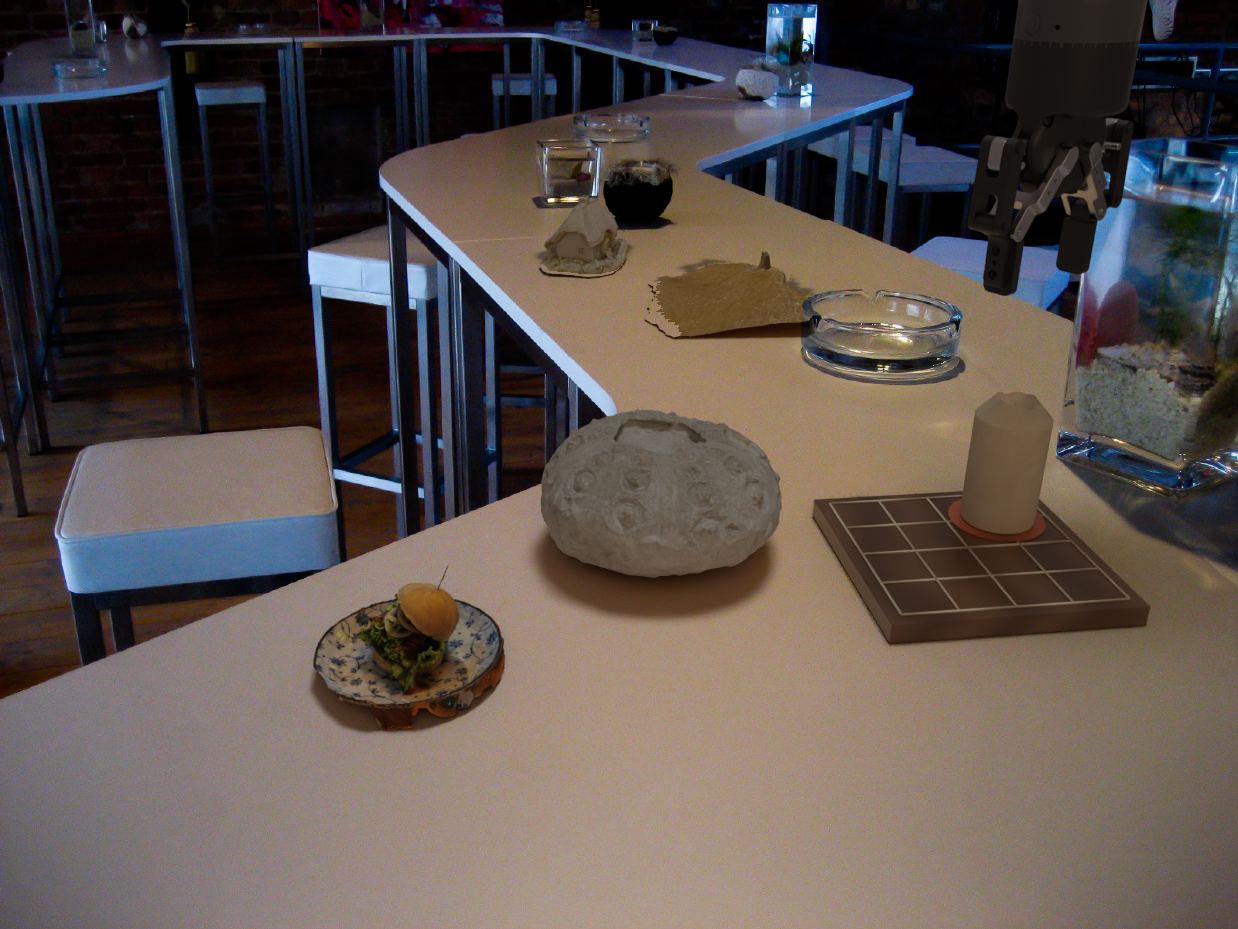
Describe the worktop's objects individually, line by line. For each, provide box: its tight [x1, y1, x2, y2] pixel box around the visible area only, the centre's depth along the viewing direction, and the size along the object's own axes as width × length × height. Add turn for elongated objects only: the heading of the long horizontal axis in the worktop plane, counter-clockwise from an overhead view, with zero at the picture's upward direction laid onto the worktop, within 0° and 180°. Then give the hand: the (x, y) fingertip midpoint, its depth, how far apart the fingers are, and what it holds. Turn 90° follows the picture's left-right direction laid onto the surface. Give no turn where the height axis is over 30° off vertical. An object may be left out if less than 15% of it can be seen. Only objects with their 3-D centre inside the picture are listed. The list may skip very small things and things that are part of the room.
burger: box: [312, 565, 506, 731], centre depth 67 cm, size 12×12×8 cm
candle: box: [960, 391, 1055, 534], centre depth 81 cm, size 6×6×10 cm
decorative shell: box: [540, 408, 783, 579], centre depth 80 cm, size 18×18×10 cm
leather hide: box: [654, 251, 808, 337], centre depth 138 cm, size 29×26×5 cm
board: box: [812, 490, 1151, 645], centre depth 80 cm, size 18×18×2 cm
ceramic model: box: [540, 194, 629, 274], centre depth 154 cm, size 14×11×10 cm
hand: (1036, 281), depth 76 cm, fingers open, 8 cm apart
